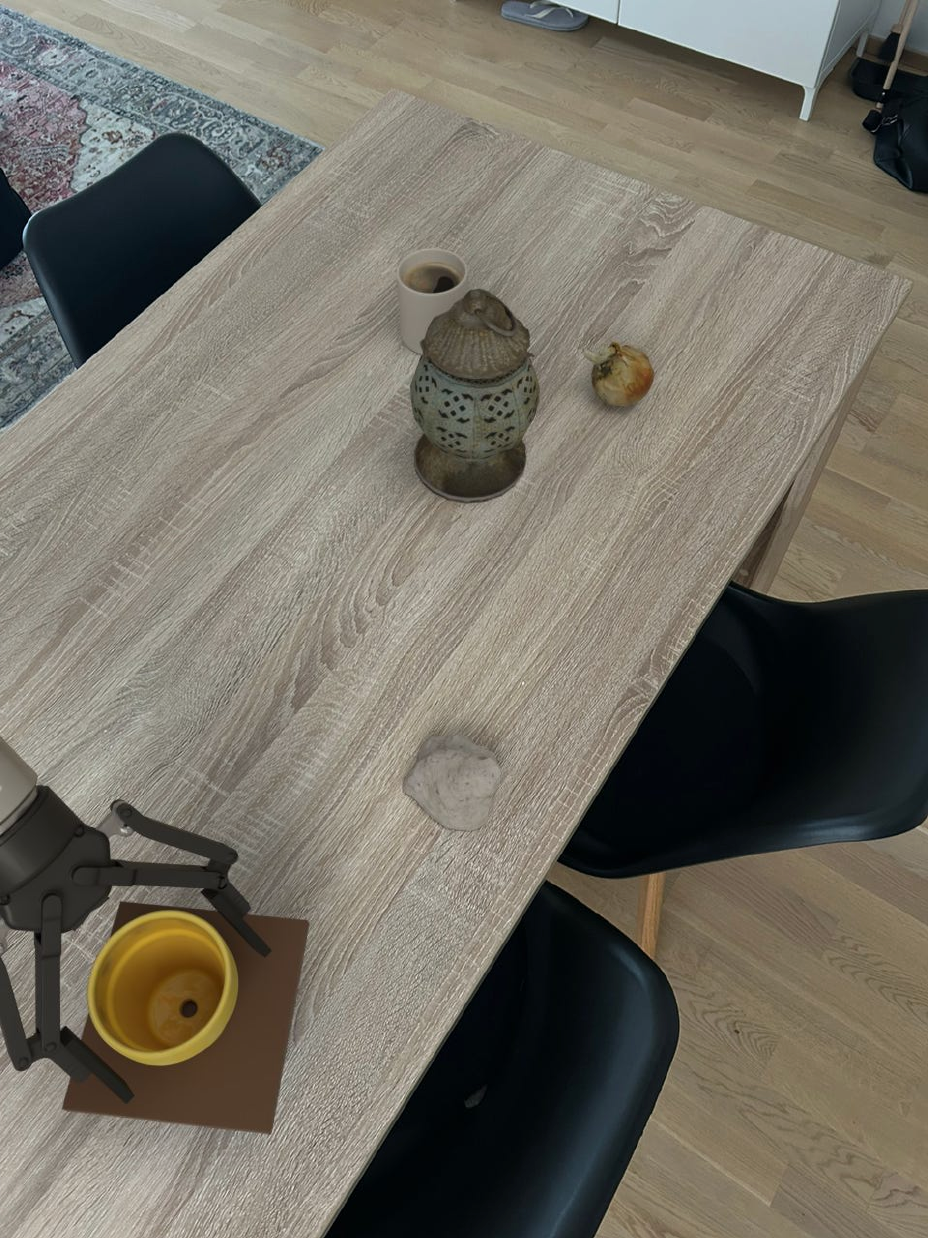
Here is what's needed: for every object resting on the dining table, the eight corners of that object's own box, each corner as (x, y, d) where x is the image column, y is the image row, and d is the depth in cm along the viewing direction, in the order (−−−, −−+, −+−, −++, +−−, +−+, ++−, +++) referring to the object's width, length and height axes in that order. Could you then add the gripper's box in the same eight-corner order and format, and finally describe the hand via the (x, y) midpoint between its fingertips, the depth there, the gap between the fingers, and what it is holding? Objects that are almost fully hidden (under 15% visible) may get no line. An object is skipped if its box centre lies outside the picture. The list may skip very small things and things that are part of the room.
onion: (613, 427, 127) (620, 380, 120) (574, 387, 131) (580, 339, 124) (662, 402, 129) (672, 354, 122) (623, 364, 133) (630, 315, 126)
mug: (445, 366, 133) (443, 304, 124) (383, 339, 136) (377, 277, 127) (489, 316, 138) (489, 253, 129) (428, 291, 141) (425, 228, 132)
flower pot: (273, 960, 84) (251, 926, 76) (229, 1095, 79) (200, 1075, 71) (154, 931, 86) (119, 895, 77) (103, 1062, 80) (60, 1038, 72)
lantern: (439, 403, 130) (432, 232, 108) (548, 433, 127) (563, 264, 106) (396, 485, 123) (379, 320, 101) (509, 518, 120) (517, 356, 99)
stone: (393, 731, 103) (492, 714, 101) (407, 751, 107) (502, 734, 105) (396, 825, 97) (500, 809, 96) (411, 843, 101) (511, 827, 99)
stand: (98, 1124, 86) (61, 1109, 79) (149, 931, 95) (119, 901, 87) (287, 1146, 85) (268, 1133, 78) (321, 949, 94) (307, 919, 86)
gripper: (-166, 980, 62) (73, 1185, 70) (155, 700, 72) (334, 906, 79) (-168, 945, 69) (51, 1136, 76) (127, 692, 78) (295, 883, 86)
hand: (196, 1019), depth 78 cm, fingers open, 13 cm apart
